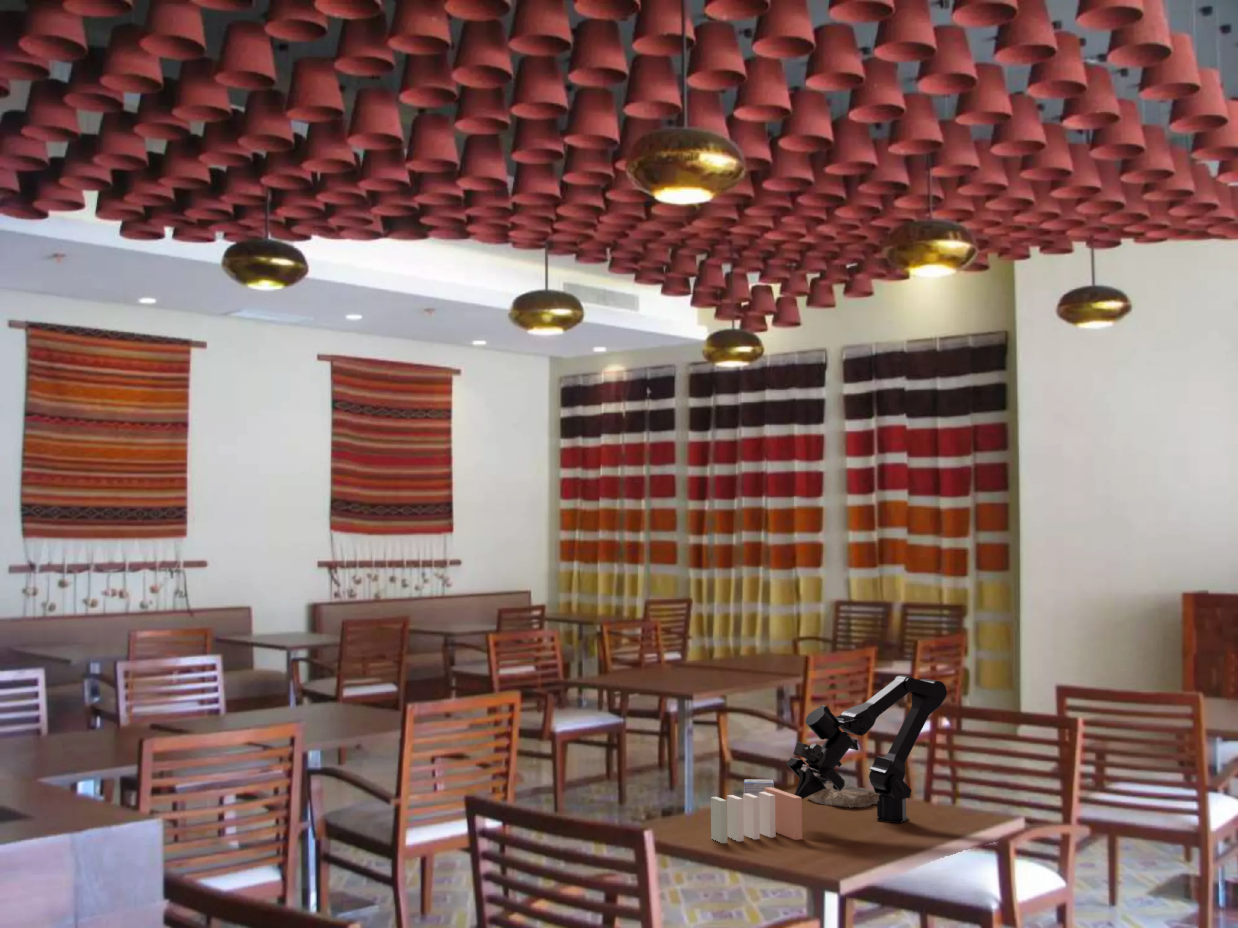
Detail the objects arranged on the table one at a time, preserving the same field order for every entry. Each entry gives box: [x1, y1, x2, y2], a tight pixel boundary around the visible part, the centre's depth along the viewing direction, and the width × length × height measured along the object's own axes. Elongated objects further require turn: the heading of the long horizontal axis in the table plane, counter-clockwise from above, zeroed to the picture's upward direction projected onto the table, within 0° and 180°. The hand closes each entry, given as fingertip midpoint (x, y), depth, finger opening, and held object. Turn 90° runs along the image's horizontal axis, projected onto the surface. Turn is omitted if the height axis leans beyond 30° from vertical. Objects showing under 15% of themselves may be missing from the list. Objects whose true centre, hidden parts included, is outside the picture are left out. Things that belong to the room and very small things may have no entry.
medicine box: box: [743, 778, 775, 797], centre depth 331 cm, size 8×4×9 cm, turn 84°
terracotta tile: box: [764, 787, 803, 841], centre depth 309 cm, size 2×14×10 cm, turn 24°
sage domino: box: [710, 796, 728, 844], centre depth 301 cm, size 2×5×10 cm, turn 24°
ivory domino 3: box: [759, 792, 777, 838], centre depth 307 cm, size 2×5×10 cm, turn 24°
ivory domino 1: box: [726, 794, 745, 842], centre depth 303 cm, size 2×5×10 cm, turn 25°
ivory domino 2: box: [742, 793, 761, 840], centre depth 305 cm, size 2×5×10 cm, turn 24°
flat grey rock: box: [807, 782, 880, 809], centre depth 346 cm, size 14×5×20 cm
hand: (795, 799), depth 311 cm, fingers closed
